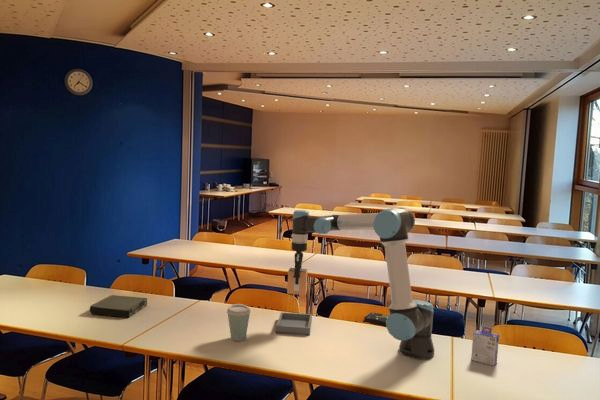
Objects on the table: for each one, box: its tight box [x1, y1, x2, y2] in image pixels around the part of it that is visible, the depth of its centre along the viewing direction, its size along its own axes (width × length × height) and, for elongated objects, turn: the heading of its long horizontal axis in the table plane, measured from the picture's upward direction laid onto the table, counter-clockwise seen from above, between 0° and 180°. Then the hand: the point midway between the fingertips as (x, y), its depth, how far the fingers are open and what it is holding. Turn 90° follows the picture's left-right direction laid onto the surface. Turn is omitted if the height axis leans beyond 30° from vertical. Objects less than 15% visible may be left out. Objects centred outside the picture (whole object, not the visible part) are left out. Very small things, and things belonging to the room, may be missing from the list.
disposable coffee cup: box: [226, 303, 251, 342], centre depth 218 cm, size 11×11×15 cm
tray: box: [275, 311, 313, 336], centre depth 238 cm, size 20×16×4 cm
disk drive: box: [363, 311, 389, 327], centre depth 252 cm, size 10×3×15 cm
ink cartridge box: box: [470, 326, 500, 366], centre depth 207 cm, size 10×6×14 cm, turn 58°
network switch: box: [89, 294, 148, 319], centre depth 250 cm, size 23×23×5 cm
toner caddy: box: [286, 267, 309, 296], centre depth 236 cm, size 6×9×11 cm, turn 85°
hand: (297, 288), depth 237 cm, fingers closed on toner caddy, 6 cm apart
